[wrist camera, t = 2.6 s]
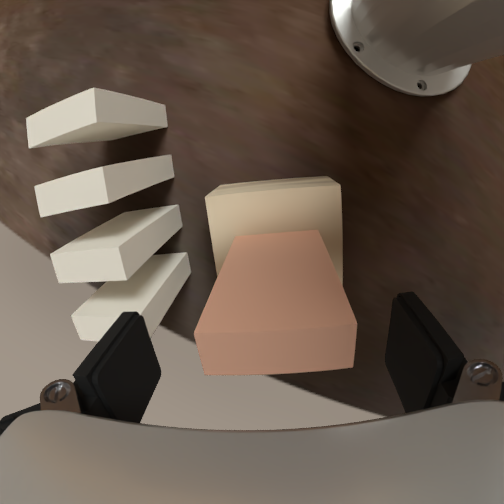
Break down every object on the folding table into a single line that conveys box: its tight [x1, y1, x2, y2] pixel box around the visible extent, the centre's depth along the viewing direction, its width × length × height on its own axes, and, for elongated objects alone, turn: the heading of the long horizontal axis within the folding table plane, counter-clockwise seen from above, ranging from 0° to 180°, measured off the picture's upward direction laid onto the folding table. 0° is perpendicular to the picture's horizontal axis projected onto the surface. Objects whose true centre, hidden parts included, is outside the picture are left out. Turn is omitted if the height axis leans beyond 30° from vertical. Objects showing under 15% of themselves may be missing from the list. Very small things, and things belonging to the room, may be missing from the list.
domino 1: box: [26, 88, 168, 148], centre depth 16 cm, size 2×5×10 cm, turn 96°
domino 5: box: [194, 230, 357, 375], centre depth 14 cm, size 2×5×10 cm, turn 96°
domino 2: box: [34, 155, 174, 217], centre depth 18 cm, size 2×5×10 cm, turn 96°
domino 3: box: [50, 205, 182, 283], centre depth 19 cm, size 2×5×10 cm, turn 96°
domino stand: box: [205, 176, 343, 286], centre depth 21 cm, size 7×8×5 cm
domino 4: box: [71, 252, 191, 341], centre depth 20 cm, size 2×5×10 cm, turn 96°
